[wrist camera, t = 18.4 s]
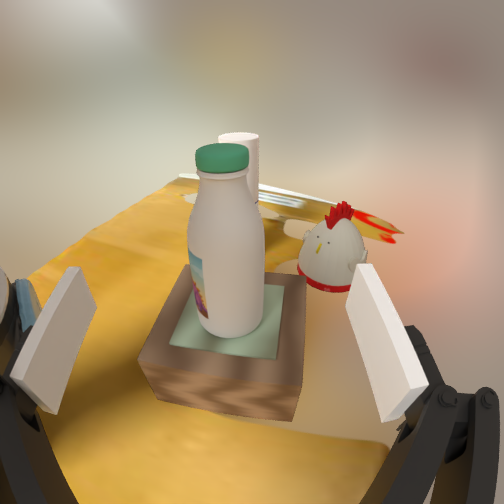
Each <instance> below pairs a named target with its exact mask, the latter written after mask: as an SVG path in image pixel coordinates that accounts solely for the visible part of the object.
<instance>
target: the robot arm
mask: <svg viewBox="0 0 504 504" xmlns="http://www.w3.org/2000/svg"><path fill="white" fill-rule="evenodd" d="M345 308H346V311H347V313H348V316H349V319H350V322H351V325H352V328H353V331H354V334H355V336H356V340H357V343H358V346H359V349H360V352H361V355H362V358H363V361H364V364H365V368H366V371H367V374H368V377H369V380H370V384H371V387H372V391H373V394H374V398H375V401H376V404H377V408H378V412H379V415H380V419H381V422H382V423H383V422H388V421H392V420H396V419H399V418H400V417H401V415H402V414H403V413H405V416H406V420H405V421H404V422H403V423H402V424H401V425H400V426H399V427H398V428H397V431H399V430H400V429H401V430H400V432H399V434H398V436H397V438H396V441H395V442H394V445H393V446H392V448H391V450H390V452H389V454H388V456H387V458H386V460H385V462H384V463H383V465H382V467H381V469H380V471H379V472H378V474H377V476H376V478H375V479H374V481H373V483H372V484H371V486H370V488H369V489H368V491H367V493H366V494H365V496H364V497H363V499H362V500H361V502H360V503H359V504H423V502H424V500H425V498H426V496H427V494H428V492H429V490H430V487H431V485H432V483H433V481H434V478H435V476H436V479H435V484H434V488H433V493H432V497H431V501H430V504H493V503H494V497H495V490H496V483H497V473H498V462H499V443H500V414H499V399H498V396H497V394H496V392H495V391H493V390H492V389H491V388H488V387H482V388H481V389H479V390H478V391H477V392H476V393H475V394H464V393H457V391H456V390H455V389H454V388H452V387H451V386H448V385H446V384H445V383H444V381H443V379H442V377H441V374H440V372H439V370H438V368H437V365H436V363H435V361H434V359H433V356H432V354H430V350H429V348H428V346H427V345H426V342H425V340H424V338H423V336H422V334H421V333H420V331H419V330H417V329H416V328H415V326H414V325H412V326H405V327H404V326H403V324H402V322H401V320H400V318H399V316H398V314H397V311H396V309H395V308H394V305H393V303H392V302H391V299H390V298H389V295H388V293H387V292H386V290H385V288H384V286H383V284H382V282H381V280H380V278H379V276H378V275H377V273H376V271H375V269H374V267H373V265H372V264H371V263H370V264H357V265H356V269H355V273H354V277H353V280H352V284H351V287H350V291H349V294H348V298H347V301H346V305H345ZM96 309H97V306H96V304H95V302H94V299H93V297H92V295H91V292H90V290H89V287H88V285H87V282H86V280H85V277H84V275H83V272H82V270H81V267H68V268H67V270H66V271H65V273H64V274H63V276H62V278H61V279H60V281H59V282H58V284H57V286H56V287H55V289H54V291H53V292H52V294H51V296H50V297H49V299H48V301H47V303H46V304H45V306H44V308H43V310H42V308H41V305H40V302H39V300H38V297H37V295H36V292H35V290H34V288H33V285H32V284H31V282H30V281H29V280H27V279H21V280H19V279H17V280H15V282H14V283H12V284H11V283H10V281H9V279H8V278H7V276H6V274H5V272H4V271H3V269H2V268H1V267H0V504H79V503H78V502H77V500H76V498H75V496H74V494H73V493H72V491H71V489H70V487H69V485H68V483H67V481H66V479H65V477H64V475H63V473H62V471H61V469H60V467H59V464H58V462H57V460H56V458H55V455H54V453H53V451H52V448H51V446H50V443H49V441H48V438H47V436H46V433H45V431H44V428H43V425H42V422H41V419H40V417H39V414H38V412H37V411H36V407H37V405H38V406H39V407H40V408H41V409H42V410H43V411H45V412H48V413H51V414H55V415H57V413H58V410H59V407H60V404H61V400H62V397H63V394H64V391H65V388H66V385H67V382H68V379H69V377H70V374H71V371H72V368H73V365H74V363H75V360H76V357H77V355H78V352H79V350H80V347H81V344H82V342H83V339H84V337H85V334H86V332H87V330H88V327H89V325H90V322H91V320H92V318H93V315H94V313H95V311H96Z"/></svg>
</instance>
